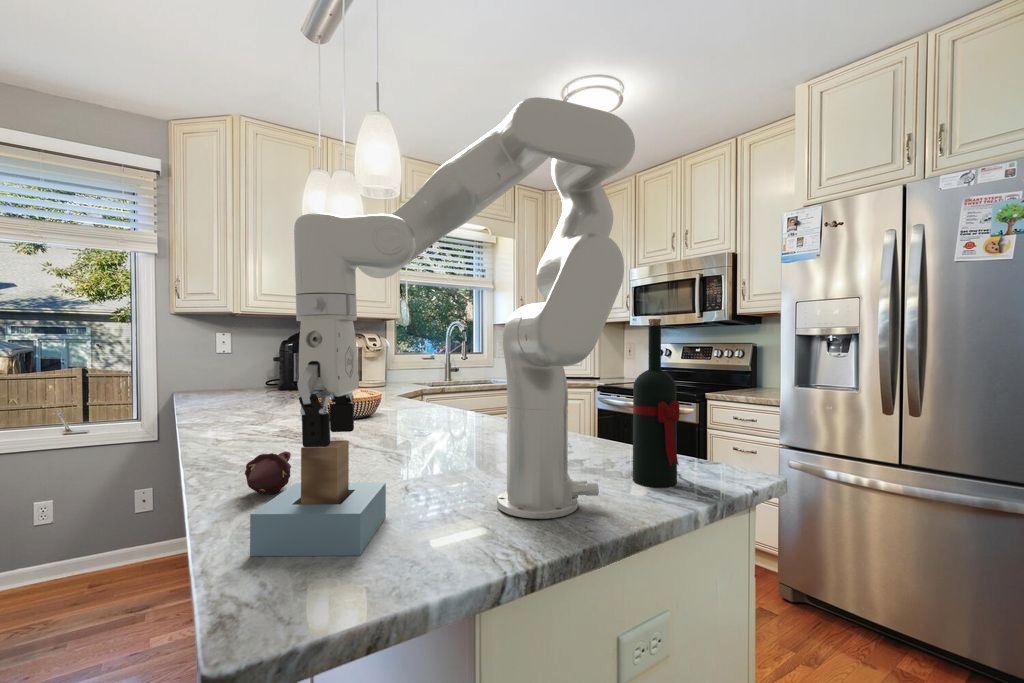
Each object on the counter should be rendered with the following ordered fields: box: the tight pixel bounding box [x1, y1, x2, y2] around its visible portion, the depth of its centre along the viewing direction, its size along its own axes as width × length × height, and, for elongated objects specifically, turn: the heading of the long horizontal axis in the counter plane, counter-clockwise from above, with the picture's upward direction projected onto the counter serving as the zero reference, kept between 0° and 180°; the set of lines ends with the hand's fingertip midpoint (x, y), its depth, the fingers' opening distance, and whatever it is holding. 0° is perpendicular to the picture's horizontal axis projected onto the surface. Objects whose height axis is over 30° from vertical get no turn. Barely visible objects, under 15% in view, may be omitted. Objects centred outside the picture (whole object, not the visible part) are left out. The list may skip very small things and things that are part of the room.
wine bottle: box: [632, 318, 680, 489], centre depth 89 cm, size 8×10×30 cm
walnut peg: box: [300, 440, 350, 505], centre depth 65 cm, size 5×5×12 cm
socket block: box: [249, 482, 387, 557], centre depth 65 cm, size 13×13×5 cm
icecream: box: [244, 450, 292, 496], centre depth 83 cm, size 7×7×15 cm
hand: (330, 438), depth 65 cm, fingers open, 9 cm apart
